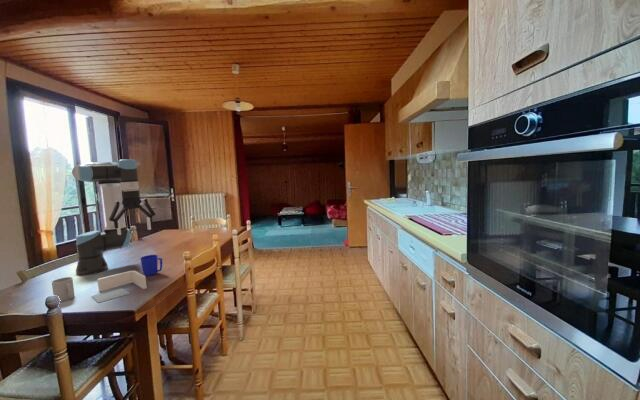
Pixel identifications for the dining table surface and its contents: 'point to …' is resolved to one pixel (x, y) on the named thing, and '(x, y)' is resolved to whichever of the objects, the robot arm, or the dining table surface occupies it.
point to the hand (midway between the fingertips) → (134, 232)
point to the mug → (150, 264)
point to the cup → (63, 288)
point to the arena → (122, 280)
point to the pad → (109, 295)
